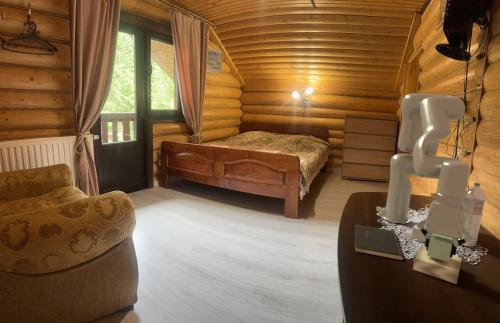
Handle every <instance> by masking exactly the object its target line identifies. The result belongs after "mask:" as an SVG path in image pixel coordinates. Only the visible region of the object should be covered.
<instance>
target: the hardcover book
mask: <svg viewBox="0 0 500 323" xmlns="http://www.w3.org/2000/svg"><path fill="white" fill-rule="evenodd" d="M397 237H398V236H397V234H396V232H395V230H392V229H391V230H390V229H385V228H379V227H374V226H373V227H372V226H366V225H361V224H354V248H355V252H359V253H363V254H364V253H365V254H370V255H374V256H379V257H385V258H389V259H395V260H400V261H404V256H403V253H402V249H401V246H400V243H399V239H398V238H397Z"/></svg>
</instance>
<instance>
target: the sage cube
mask: <svg viewBox="0 0 500 323" xmlns="http://www.w3.org/2000/svg"><path fill="white" fill-rule="evenodd" d="M452 244H453V240H452V238H449V237H446V236H442V235H438V234H434V233H433V234H432V235H431V238H430V242H429V247H428V253H427V256H430V257H433V258H436V259H440V260H443V261H446V262H449V259H450V253H451V248H452Z"/></svg>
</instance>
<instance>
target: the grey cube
mask: <svg viewBox="0 0 500 323" xmlns="http://www.w3.org/2000/svg"><path fill="white" fill-rule="evenodd" d="M423 227H424V228H425V226H424V225H423ZM410 239H411V240H412V239H417V240H418V241H417V242H419V241H420V243H423V242H425V241H426V238H425V236H424V235H423V233H422V232H421V230H420V229H419V228H418V227H417V224H414V225H413V227H412V232H411V238H410Z"/></svg>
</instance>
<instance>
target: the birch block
mask: <svg viewBox="0 0 500 323" xmlns="http://www.w3.org/2000/svg"><path fill="white" fill-rule="evenodd" d="M426 248H427V247H425V246H423V245H421V246H420V248H419V249H418V252H417V253H416V255H415V256H414V261H413V266H412V270H413V271H417V272H419V273H423V274H426V275H428V276H431V277H434V278H437V279H440V280H443V281H447V282H449V283H452V284H455V285H457V283H458V279H459V275H460V271H461V270H460V269H461V264H462V259H463V257H460V256H457V255H453V257H452V258H450V259H449V262H446V261H443V260H440V259H436V258H433V257H430V256H427V253H428V251H427V250H426Z"/></svg>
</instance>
